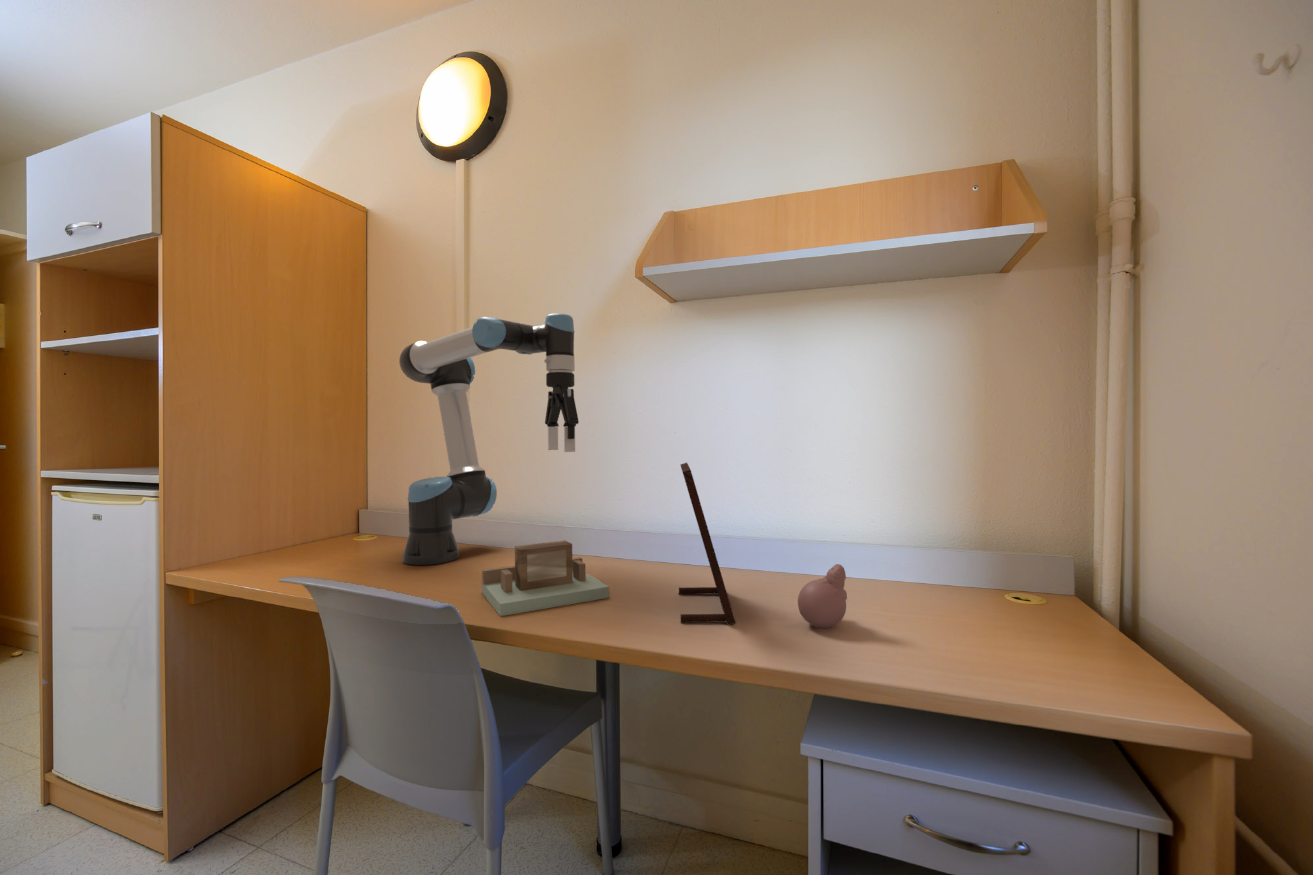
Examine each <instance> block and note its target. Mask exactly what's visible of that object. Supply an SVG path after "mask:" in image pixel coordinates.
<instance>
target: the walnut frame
mask: <svg viewBox="0 0 1313 875" xmlns="http://www.w3.org/2000/svg"><path fill="white" fill-rule="evenodd" d="M572 558H573V544H572V543H571V542H569V541H567V540H566V539H565V540H558V541H557V540H556V541H548V542H541V543H531V544H523V545H515V546H514V566H515V586H516V587H517V588H518V589H519V590H520V591H523V590H530V589H537V588H543V587H550V586H556V585H563V584H569V583H573V573H572Z"/></svg>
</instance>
